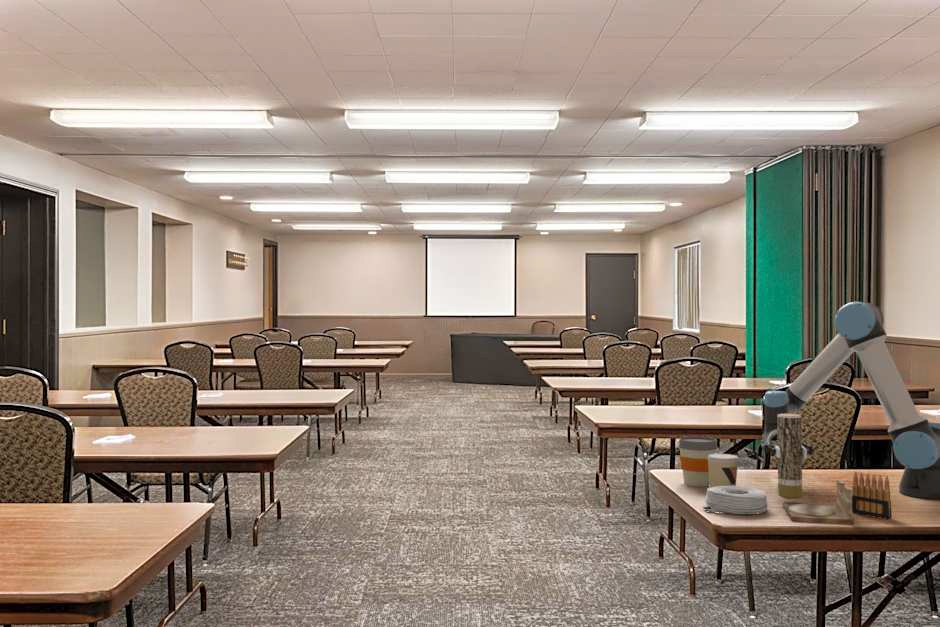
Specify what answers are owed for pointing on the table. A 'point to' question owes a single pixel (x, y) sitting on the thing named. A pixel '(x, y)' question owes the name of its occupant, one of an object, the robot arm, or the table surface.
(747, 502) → the cable
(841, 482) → the base
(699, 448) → the reusable coffee cup
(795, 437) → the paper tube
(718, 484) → the coffee cup
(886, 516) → the ammunition clip
